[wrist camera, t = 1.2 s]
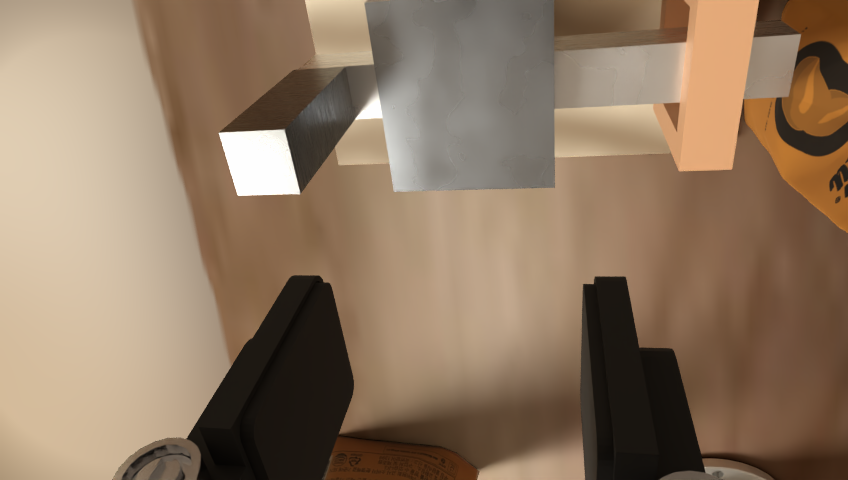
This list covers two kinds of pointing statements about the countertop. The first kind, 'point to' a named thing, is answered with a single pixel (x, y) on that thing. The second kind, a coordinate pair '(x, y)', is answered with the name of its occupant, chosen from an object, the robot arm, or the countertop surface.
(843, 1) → the coffee package
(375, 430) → the countertop surface
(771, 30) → the l-shaped metal bar
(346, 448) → the pancake mix bag
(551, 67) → the metal block
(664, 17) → the collar
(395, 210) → the countertop surface
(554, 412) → the countertop surface
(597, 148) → the board
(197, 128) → the countertop surface
